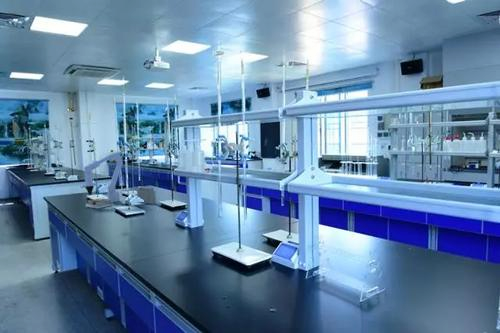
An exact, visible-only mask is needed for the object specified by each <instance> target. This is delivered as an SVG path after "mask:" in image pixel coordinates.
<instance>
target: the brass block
mask: <svg viewBox="0 0 500 333" xmlns="http://www.w3.org/2000/svg"><path fill="white" fill-rule="evenodd" d="M96 199H97V202H100V201H105V200H106V199H105V198H103V197H100V198H96Z"/></svg>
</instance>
